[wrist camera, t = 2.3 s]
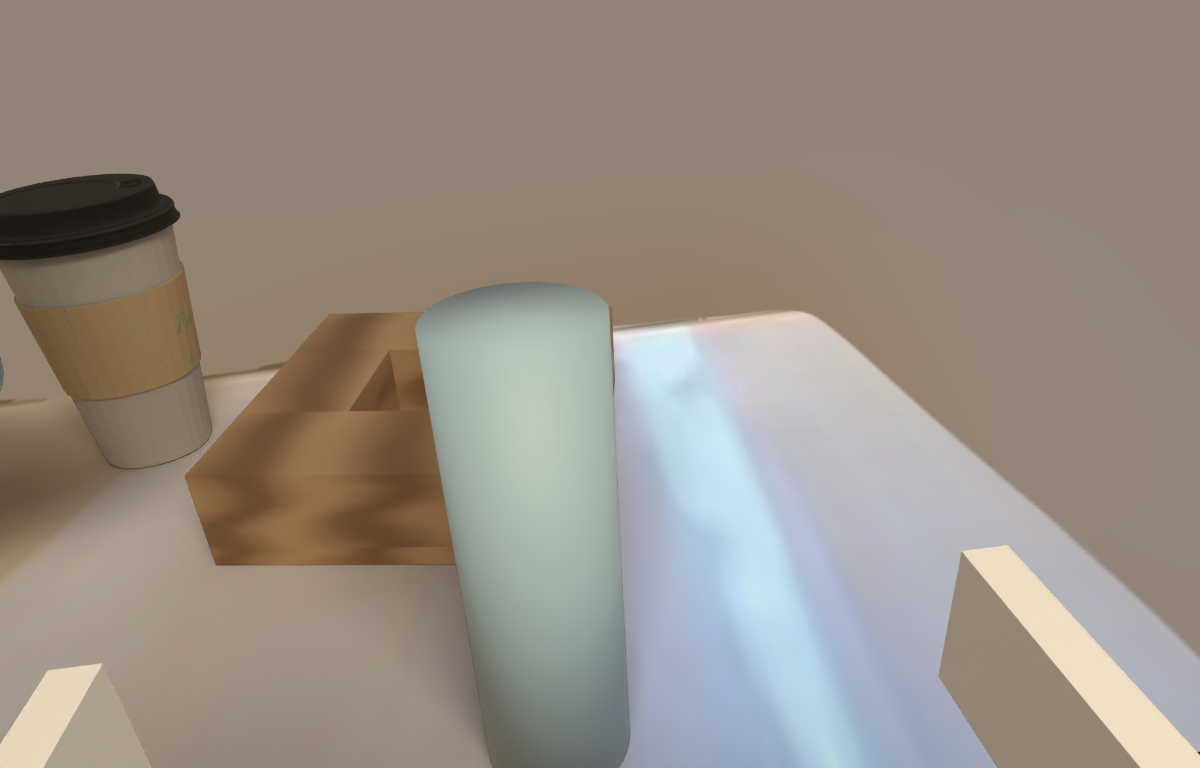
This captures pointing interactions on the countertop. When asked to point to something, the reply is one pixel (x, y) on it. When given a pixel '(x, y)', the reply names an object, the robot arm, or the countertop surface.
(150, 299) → the coffee cup
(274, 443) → the socket block
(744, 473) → the countertop surface
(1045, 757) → the robot arm
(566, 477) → the peg
